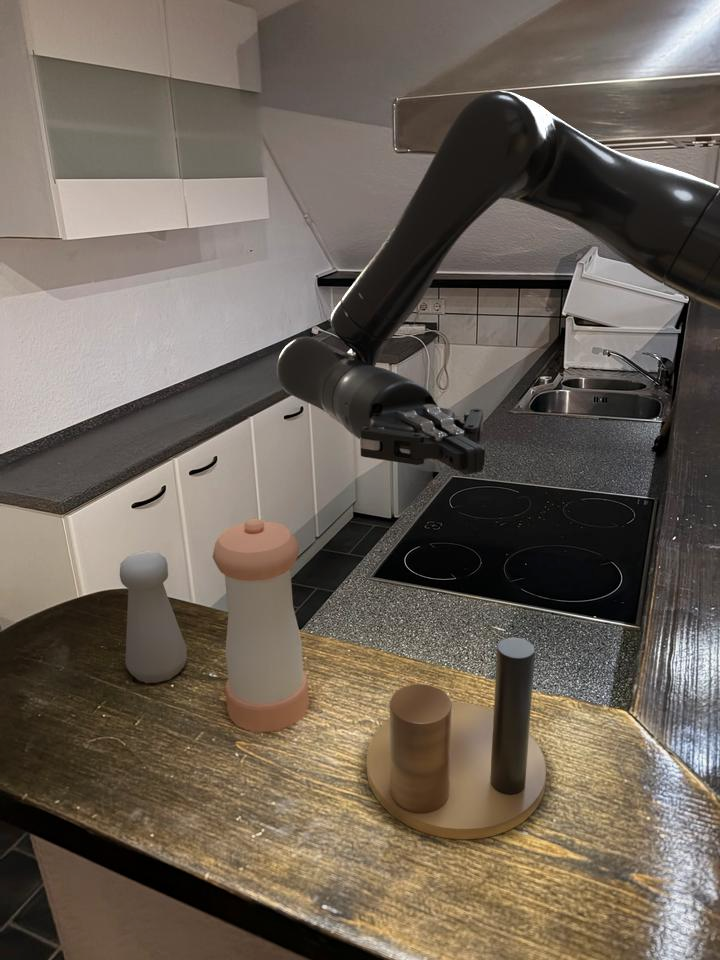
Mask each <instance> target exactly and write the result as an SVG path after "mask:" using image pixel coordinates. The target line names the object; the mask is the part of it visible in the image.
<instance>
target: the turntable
mask: <svg viewBox="0 0 720 960" xmlns="http://www.w3.org/2000/svg"><path fill="white" fill-rule="evenodd" d="M535 658H536V647H535V645H534V644H533V643H532V642H531V641H529V640H527V639H524V638H521V637H512V636H511V637H506V638H503V639H501V640H500V641H498V643H497V645H496V660H495V661H496V662H495V677H494V678H495V679H494V680H495V681H494V700H493V701H494V702H493V708H489V707H487V706H484V705H483V706H482V705H479V704H475V703H468V702H462V701H451V698H450V697H449V695H448V694H447V693H446V692H445V691H444V690H442V689H440V688H439V687H436V686H433V685H429V684H422V683H421V684H419V683H417V684H415V683H414V684H410V685H406V686H402V687H400V688H399V689H397V690H396V691H395V692H394V693H393V694H392V695H391V697H390V699H389V704H388V705H389V712H388V713H389V714H388V715H389V718H388V719H387V720H386V721H385V722H384V723H382V725H380V727H379V728H378V729H377V730H376V731H375V732H374V734H373V736H372V737H371V739H370V742H369V744H368V748H367V751H366V775H367V781H368V784H369V788H370V789H371V792H372V794H373V796H374V797H375V799H376V800H377V802H378V803H379V804H380V805H381V806H382V808H384V809H385V811H386V812H387V813H388V814H390V815H391V816H392V817H393V818H395V819H396V820H397V821H399V822H401V823H403V824H404V825H406V826H407V827H409V828H412V829H414V830H416V831H418V832H422V833H424V834H428V835H429V836H434V837H438V838H442V839H452V840H477V839H485V838H489V837H493V836H497V835H500V834H502V833H506V832H508V831H510V830H512V829H514V828H516V827H518V826H519V825H521V824H522V823H523V822H525V821H526V820H527V819H528V818H530V817H531V816H532V814H533V813H534V812H535V811H536V810H537V808H538V807H539V805H540V803H541V801H542V800H543V798H544V793H545V791H546V782H547V763H546V759H545V755H544V753H543V751H542V749H541V747H540V745H539V743H538V742H537V740H536V738H535V737H533V735H532V734H531V733H530V727H531V726H530V724H531V710H532V699H533V698H532V697H533V684H534V683H533V682H534V673H535V671H534V669H535Z"/></svg>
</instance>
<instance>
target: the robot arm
mask: <svg viewBox="0 0 720 960" xmlns="http://www.w3.org/2000/svg"><path fill="white" fill-rule="evenodd" d="M500 199H504V200H511V201H515V202H518V203H522V204H524V205H528V206H531V207H533V208H536V209H539V210H541V211H544V212H545V213H548V214H551V215H554V216H556V217H559V218H561V219H563V220H566V221H568V222H570V223H572V224H574V225H575V226H577V227H578V228H581V229H583V230H584V231H586V232H587V233H589V234H590V235H591V236H593V237H594V238H595V239H597V240H598V241H599V242H600V243H602V244H603V245H604V246H606V247H607V248H608V249H609V250H611V251H612V252H613V253H614V254H616V256H618V257H619V258H621V259H622V260H623V261H625V262H626V263H628V264H629V265H631V266H632V267H634V268H635V269H637V270H638V271H640V272H641V273H643V274H644V275H646V276H647V277H650V278H651V279H653V280H654V281H656V282H658V283H660V284H662V285H664V286H665V287H667V288H669V289H672V290H673V291H675V292H677V293H679V294H682V295H683V296H685V297H688V298H689V299H691V300H694V301H695V302H697V303H700V304H701V305H705V306H707V307H710V308H712V309H715V310H717V311H720V185H718V184H715V183H713V182H710V181H708V180H706V179H702V178H700V177H697V176H695V175H692V174H689V173H686V172H684V171H680V170H677V169H675V168H672V167H667V166H664V165H661V164H658V163H653V162H650V161H646V160H643V159H639V158H636V157H633V156H629V155H627V154H624V153H621V152H619V151H617V150H614V149H612V148H610V147H608V146H606V145H604V144H602V143H600V142H598V141H597V140H595V139H593V138H592V137H589V136H588V135H586V134H585V133H583V132H581V131H579V130H577V128H574V127H573V126H571V125H570V124H568V123H566V122H565V121H563V120H562V119H561V118H559V117H558V116H555V115H554V114H552V113H551V112H550V111H548V110H547V109H546V108H544V107H543V106H542V105H540V104H539V103H537V102H535V101H534V100H532V99H529V98H526V97H524V96H522V95H519V94H517V93H514V92H510V91H504V90H494V91H488V92H484V93H481V94H479V95H477V96H475V97H474V98H472V99H471V100H469V101H468V102H467V103H466V104H465V105H464V106H463V107H462V108H461V109H460V110H459V112H458V113H457V115H456V116H455V118H454V119H453V121H452V123H451V124H450V126H449V129H448V130H447V132H446V134H445V135H444V137H443V138H442V140H441V143H440V145H439V147H438V148H437V150H436V152H435V154H434V156H433V158H432V160H431V162H430V164H429V166H428V167H427V169H426V172H425V174H424V175H423V178H422V179H421V181H420V183H419V184H418V186H417V188H416V190H415V191H414V193H413V195H412V196H411V198H410V200H409V202H408V203H407V204H406V207H405V208H404V210H403V212H402V214H401V215H400V217H399V218H398V220H397V222H396V223H395V225H394V226H393V228H392V229H391V231H390V232H389V233H388V235H387V236H386V238H385V239H384V241H383V242H382V244H381V245H380V247H378V248H379V249H378V250H377V251H376V253H374V255H373V256H372V258H371V259H370V260H369V262H368V263H367V264H366V266H365V267H364V268H363V270H362V271H361V272H360V274H359V275H358V276H357V277H356V279H355V280H354V281H353V283H352V285H350V287H349V288H348V289H347V291H345V294H344V295H343V296H342V298H341V299H340V300H339V302H338V303H337V305H336V306H335V307H334V308H333V311H332V313H331V315H330V327H331V329H332V330H333V332H334V334H335V335H336V337H338V339H339V340H340V341H341V342H342V343H343V344H344V345H345V346H347V348H349V350H347V352H345V351H342V350H340V349H339V348H336V347H334V346H331V345H330V344H327V343H326V342H323V341H322V340H319V339H318V338H315V337H312V336H300V337H297V338H295V339H293V340H291V341H290V342H288V343H287V344H286V345H285V347H284V348H283V349H282V350H281V352H280V353H279V356H278V359H277V363H276V375H277V376H276V377H277V379H278V382H279V384H280V386H281V388H282V389H283V390H284V391H285V392H286V393H287V394H289V395H291V396H292V397H294V398H297V399H298V400H301V401H303V402H305V403H306V404H310V405H311V406H314V407H316V408H318V409H320V410H321V411H322V412H325V413H326V414H327V415H328V416H329V417H330V418H332V419H333V420H335V421H336V422H337V423H339V424H341V425H342V426H343V427H344V428H345V430H347V431H348V432H349V433H350V434H351V435H352V436H354V437H355V438H357V439H358V440H359V445H360V446H359V447H360V448H359V449H360V450H359V451H360V457H362V458H368V459H375V460H382V461H387V462H395V463H401V464H406V465H407V464H408V465H414V466H420V465H424V464H425V460H428V461H429V462H432V463H433V464H436V465H437V464H438V465H442V464H444V465H446V466H447V467H449V468H451V469H452V470H455V471H458V472H460V473H461V474H463V475H464V476H468V475H472V474H477V473H482V472H483V470H484V466H485V459H486V458H485V457H486V456H485V453H486V448H485V447H484V446H482V445H481V443H482V439H483V435H484V432H483V431H484V428H483V427H484V409H481V408H473V409H470V410H469V412H464V413H463V416H462V415H461V416H460V415H459V416H458V415H456V414H455V412H454V411H453V410H451V409H449V408H444V407H439V406H438V404H437V402H436V401H435V400H434V398H433V395H432V394H431V392H430V391H429V390H428V389H427V388H426V387H424V386H423V385H422V384H420V383H418V382H415V381H413V380H411V379H409V378H407V377H405V376H403V375H400V374H399V373H396V372H394V371H392V370H390V369H387V368H385V367H379V366H376V365H377V363H378V361H379V359H380V356H381V354H382V353H383V351H384V348H385V347H386V345H387V344H388V343H389V341H390V340H391V339H392V338H393V337H394V335H395V334H396V333H397V332H398V331H399V330H400V328H401V327H402V326H403V325H404V323H406V321H407V320H408V318H409V317H410V316H412V313H413V312H414V311H415V310H416V309H417V307H418V306H419V304H420V303H421V301H422V299H423V298H424V296H425V295H426V293H427V291H428V289H429V288H430V287H431V284H432V283H433V280H434V278H435V277H436V274H437V273H438V271H439V269H440V267H441V266H442V263H443V261H444V260H445V259H446V258H447V257H446V256H448V254H449V253H450V251H451V249H452V248H453V247H454V245H455V244H456V243H457V242H458V241H459V239H460V238H461V236H462V235H464V233H465V232H466V231H467V230H468V229H469V227H470V226H471V225H473V224H474V222H476V220H477V219H479V218H480V217H481V216H482V215H483V214H484V213H485V212H487V210H489V208H490V207H492V206H493V205H494V204H495V203H496V202H498V201H499V200H500Z"/></svg>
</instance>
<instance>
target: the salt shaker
mask: <svg viewBox="0 0 720 960" xmlns="http://www.w3.org/2000/svg"><path fill="white" fill-rule="evenodd" d="M119 565H120V566H119V577H120V578H119V579H120V582H121V584H122V585H123V586H124V587H125V588H126V589H128V590H127V613H126V614H127V615H126V634H125V635H126V636H125V637H126V639H125V660H124V661H125V662H124V664H125V666H126V670H127V671H128V672H129V673H130V675H131V676H132V677H134V678H135V679H136V680H137V681H139V682H143V683H145V684H151V683H162V682H164V681H168V680H169V681H170V680H171V679H173V677H175V676H177V675H178V674H179V673H180V672H181V671H182V669H183V668H185V665H186V662H187V660H188V650H187V644H186V642H185V639H184V637H183V633H182V631H181V629H180V626H179V623H178V621H177V617H176V615H175V613H174V609H173V607H172V604H171V602H170V599H169V597H168V593H167V591H166V588H165V584H164V583H165V581H167V579H168V577H169V566H168V561H167V559H166V557H165V555H163V554H161V553H159V552H156V551H151V550H150V551H147V550H146V551H145V550H144V551H143V550H142V551H139V552H134V553H132V554H130V555H128V556H126V557H125V558H124V559H123V560H122V561H121V562H120V563H119Z"/></svg>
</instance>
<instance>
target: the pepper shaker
mask: <svg viewBox="0 0 720 960" xmlns="http://www.w3.org/2000/svg"><path fill="white" fill-rule="evenodd" d="M299 546H300V545H299V542H298V539H297V537H296V536H295V535H294V533H292V531H290V529H289V528H288V527H287V526H285V525H283V524H281V523H277V522H273V521H267V520H266V521H265V520H261V519H260V518H250V519H247V520H246V521H245V522H241V523H239V524H235V525H233V526H230V527H228V528H227V529H225V530H223V531H222V533H220V535H219V536H218V537H217V539H216V541H215V543H214V547H213V551H212V559H213V561H214V563H215V565H216V568H218V570H219V572H220V573H221V574H223V575H224V582H225V593H226V605H227V627H226V641H225V653H224V655H225V662H226V669H227V680H226V681H225V689H224V690H225V699H226V701H225V702H226V710H227V714H228V717H229V719H230V720H231V721H232V723H234V724H235V725H236V726H237V727H239V728H242V729H244V730H247V731H251V732H258V733H266V732H267V733H269V732H276V731H280V730H282V729H286V728H289V727H291V726H292V725H294V724H296V723H297V722H298V721H300V720H301V719H302V718H303V716H305V715H306V713H307V710H308V709H309V707H310V702H309V700H310V699H309V684H308V683H309V682H308V675H307V673H306V672H305V670H304V668H303V667H304V666H303V641H302V637H301V633H300V629H299V625H298V620H297V615H296V612H295V609H294V602H293V588H292V574H291V573H292V571H291V569H292V568H293V567H294V565H295V564H296V561H297V560H298V556H299V553H300V547H299Z"/></svg>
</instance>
